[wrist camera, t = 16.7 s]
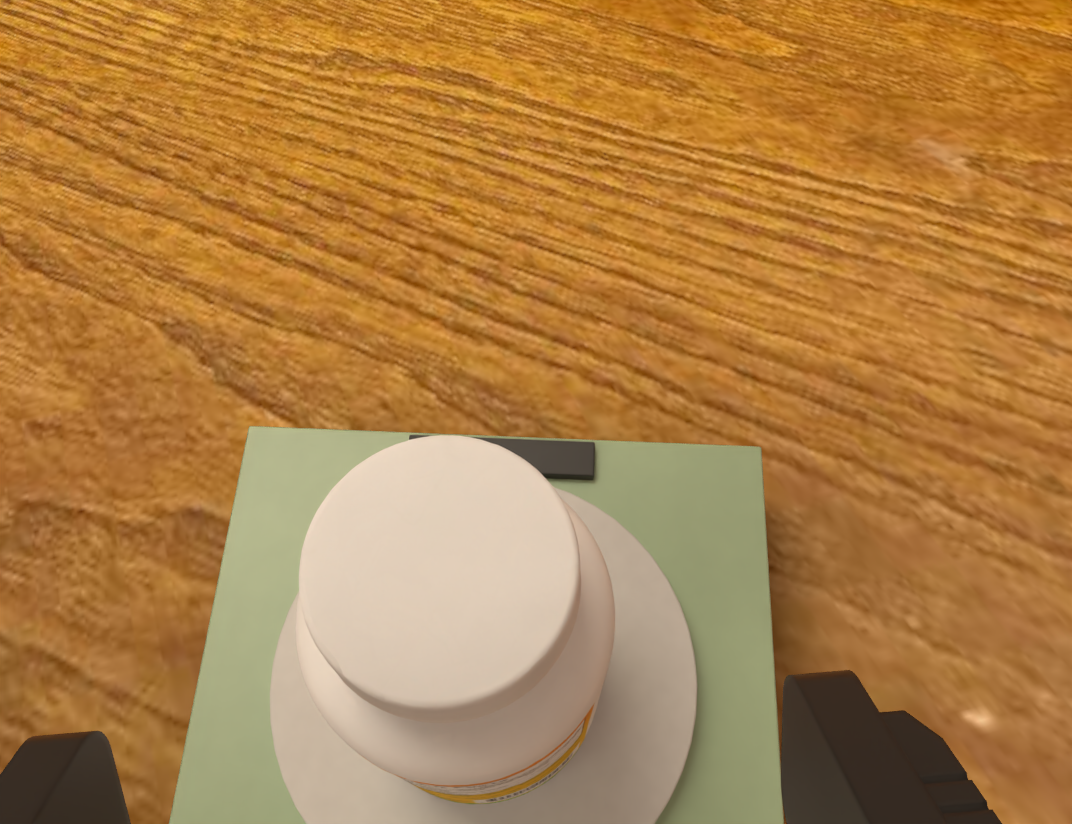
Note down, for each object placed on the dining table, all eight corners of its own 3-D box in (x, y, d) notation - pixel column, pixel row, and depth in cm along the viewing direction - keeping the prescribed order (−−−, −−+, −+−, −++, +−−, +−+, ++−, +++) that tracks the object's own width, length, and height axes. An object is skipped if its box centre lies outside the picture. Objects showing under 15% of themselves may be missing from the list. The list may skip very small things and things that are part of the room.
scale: (186, 961, 23) (122, 979, 19) (276, 466, 28) (239, 412, 25) (766, 996, 22) (805, 1020, 19) (741, 486, 28) (768, 433, 24)
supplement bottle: (426, 537, 23) (353, 342, 15) (629, 617, 22) (682, 459, 14) (326, 749, 21) (169, 670, 12) (546, 847, 20) (546, 837, 11)
